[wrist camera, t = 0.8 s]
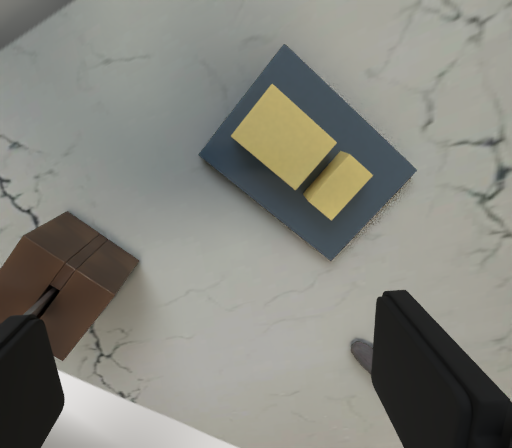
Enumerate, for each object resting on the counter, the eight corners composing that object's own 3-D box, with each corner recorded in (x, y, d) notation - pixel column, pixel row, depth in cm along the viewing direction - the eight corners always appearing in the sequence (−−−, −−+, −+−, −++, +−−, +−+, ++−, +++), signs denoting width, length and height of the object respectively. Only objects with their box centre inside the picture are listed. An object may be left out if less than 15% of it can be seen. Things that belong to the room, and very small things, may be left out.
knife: (83, 282, 30) (-123, 501, 13) (65, 270, 30) (-173, 480, 13) (98, 262, 30) (-96, 462, 13) (80, 249, 29) (-147, 439, 12)
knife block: (24, 272, 30) (-28, 309, 24) (67, 210, 28) (23, 235, 23) (95, 316, 31) (62, 361, 26) (139, 260, 30) (115, 295, 24)
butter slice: (302, 194, 28) (307, 201, 25) (340, 150, 27) (349, 153, 24) (324, 212, 28) (331, 221, 26) (362, 170, 27) (373, 175, 25)
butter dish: (199, 153, 27) (194, 158, 24) (282, 45, 25) (288, 35, 22) (328, 256, 30) (338, 273, 27) (411, 168, 28) (433, 175, 25)
